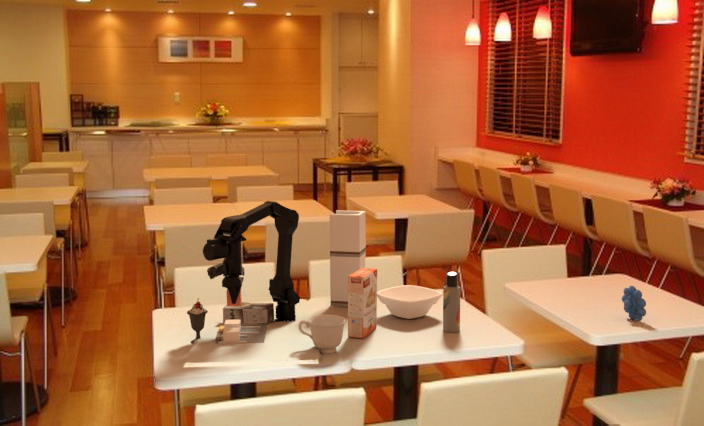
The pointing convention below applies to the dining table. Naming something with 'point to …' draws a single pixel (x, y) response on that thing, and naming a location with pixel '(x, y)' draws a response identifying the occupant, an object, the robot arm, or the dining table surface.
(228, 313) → the coffee box
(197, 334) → the sundae
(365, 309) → the cracker box
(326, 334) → the teacup
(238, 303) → the orange rectangular prism
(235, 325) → the block
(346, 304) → the white banded column
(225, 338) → the block
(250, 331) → the panel
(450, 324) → the lotion bottle
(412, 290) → the bowl
